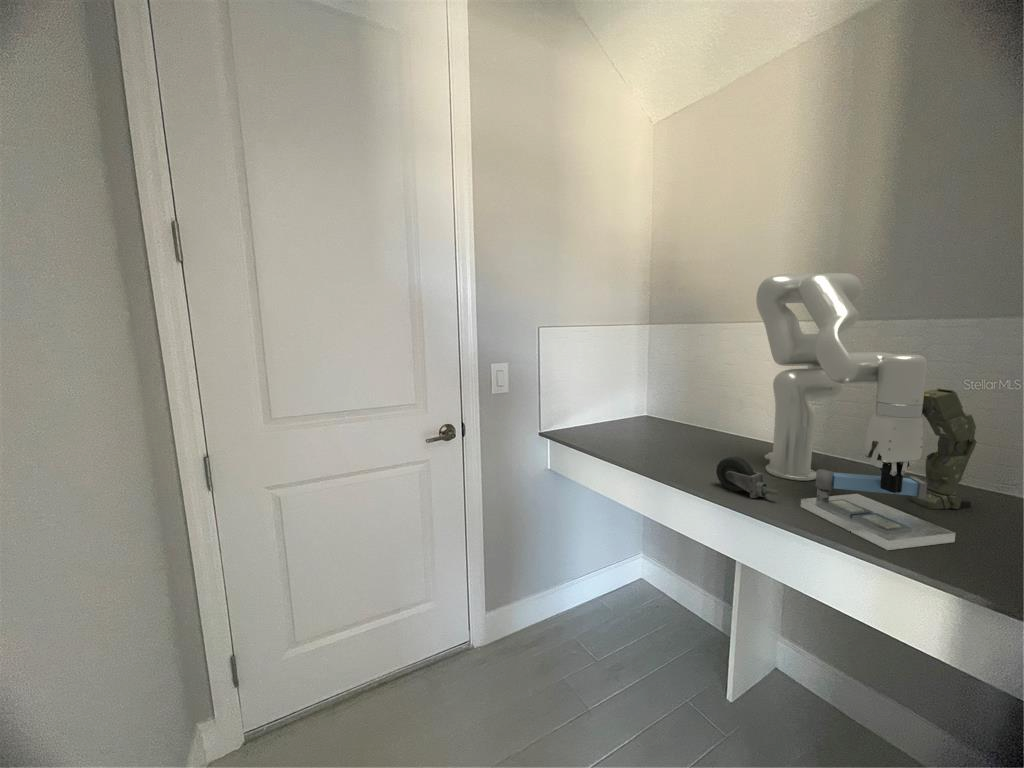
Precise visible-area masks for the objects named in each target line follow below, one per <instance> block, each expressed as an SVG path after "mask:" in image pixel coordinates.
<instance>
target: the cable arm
mask: <svg viewBox="0 0 1024 768" xmlns="http://www.w3.org/2000/svg"><path fill="white" fill-rule="evenodd" d="M880 485H881V475H869V474H860V473H859V474H857V473H855V474H854V473H849V472H848V473H845V472H834V471H831V470H828V469H821V468H819V469H816V478H815V486H814V487H816V488H820V489H824V490H830V491H832V490H833V489H834V490H835V489H836V490H838V489H839V490H847V491H848V490H849V491H859V492H867V493H868V492H869V493H881V494H891V495H901V496H909V495H911V496H916V497H917V498H919V499H926V491H927V483H925V482H924V481H923V480H921V479H920V478H918V477H917V476H908V477H903V481H902V491H901V492H899V493H898V492H897V493H892V492H890V491H887V490H884V489H881V487H880Z"/></svg>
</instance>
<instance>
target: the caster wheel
mask: <svg viewBox="0 0 1024 768" xmlns="http://www.w3.org/2000/svg"><path fill="white" fill-rule="evenodd" d="M715 471H716V476H717V479H718V481H719V483H720V484H721V485H722V486H723V487H724V488H725V489H726V490H727V489H728V490H730V491H733V492H742V491H746V492H747V493H749V497H750V498H751V499H753V498H756V499H758V498H759V496H760V497H763V498H765V497H766V495H767V494H769V495H770V494H771V495H776V496H777V495H778V494H779V491H778V490H777V489H776V490H775V489H772V488H768V485H767V483H765V482H764V473H763V472H758V471H754V469H753V467H752V465H751V464H750V463H749V462H748V461H747V460H745V459H744V458H741V457H739V456H728V457H725V458H723V459H722V460H720V461H719V463H718V464H717V465H716V470H715ZM757 497H758V498H757Z"/></svg>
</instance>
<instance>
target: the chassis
mask: <svg viewBox="0 0 1024 768" xmlns="http://www.w3.org/2000/svg"><path fill="white" fill-rule="evenodd" d="M816 488H817V487H816ZM830 493H831V490H824V489H820V488H817V489H816V497H810V498H809V497H807V498H801V499H800V508H802V509H804V510H806V511H808V512H810V513H813V514H814V515H816V516H818V517H820V518H821V519H822V518H823V519H824V520H826V521H827V522H830V523H832V524H834V525H837V526H838V527H841V529H842V528H843V529H844V530H846V531H848V532H850V531H851V532H850V533H852V534H853V535H856V536H858V537H860V538H862V539H864V540H865V541H869V543H872V544H874V545H875V546H878V547H880V548H881V549H884V550H886V551H892V550H893V551H894V550H900V549H901V550H902V549H909V548H910V549H911V548H918V547H924V546H925V547H926V546H933V545H935V546H936V545H941V544H949V543H950V544H951V543H955V541H956V534H957V533H956V532H954V531H952V530H949V529H948V528H947V529H946V528H944V527H942V526H939V525H938V524H937V525H936V524H935V523H931V522H929V521H927V520H924V519H921V518H919V517H918V516H914V515H912V514H909V513H907V512H904V511H902V510H899V509H897V508H894V507H892V506H890V505H887V504H884V503H881V502H879V501H876V500H874V499H872V498H869V497H866V496H865V495H864V496H863V495H861V494H859V493H851V494H840V495H831V496H830Z"/></svg>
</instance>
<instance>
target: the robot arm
mask: <svg viewBox="0 0 1024 768" xmlns="http://www.w3.org/2000/svg"><path fill="white" fill-rule="evenodd" d="M862 284H863V283H862V282H861V280H860V278H859V277H857V276H856V275H854V274H853V273H852V274H851V273H846V272H839V273H835V272H832V273H831V272H830V273H795V274H794V273H788V274H785V273H783V274H782V273H781V274H777V275H771V276H769V277H767V278H765V279H764V280H763V281H762V282H761V283H760V285H759V286H758V288H757V292H756V297H755V299H756V300H755V301H756V307H757V310H758V313H759V315H760V318H761V319H762V321H763V325H764V327H765V331H766V337H767V340H768V341H767V342H768V345H769V348H770V352H771V356H772V360H773V361H774V363H775V364H777V365H778V366H782V367H783V366H784V367H799V366H801V367H802V366H805V367H807V368H789V369H785V370H782V371H780V372H779V373H778V374H776V375H775V377H774V379H773V381H772V387H773V394H774V402H775V403H774V404H775V406H774V407H775V408H774V409H775V414H774V428H773V429H774V430H773V431H774V432H773V443H772V445H773V447H772V451H770V452H768V453H767V454H765V455H764V458H765V459H767V460H768V461H769V463H768V464H766V465H765V471H766V472H767V473H768V474H770V475H772V476H775V477H778V478H782V479H785V480H792V481H800V482H802V481H803V482H804V481H806V482H807V481H808V482H809V481H812V480H816V473H817V471H815V470H813V469H811V466H812V453H813V441H814V433H815V432H814V431H815V430H814V429H815V427H814V426H815V415H814V412H813V409H812V408H811V406H810V404H809V402H816V401H817V402H821V401H823V402H824V401H832V400H835V399H837V398H838V397H840V396H841V394H842V393H843V391H844V386H846V385H876V395H875V405H874V415H872V416H871V418H870V421H869V423H868V427H867V431H866V436H865V440H864V441H865V442H864V447H863V448H864V449H863V455H864V457H866V458H869V459H870V461H869V465H870V466H872V467H876V468H878V470H879V472H881V474H880V476H881V485H880V487H881V489H884V490H887V491H890V492H892V493H897V492H898V493H899V492H901V491H902V481H903V478H904V475H905V474H906V473H907V469H908V468H909V467H910V466H913V465H915V464H916V463H917V461H918V460H919V459H921V457H922V454H923V447H924V426H923V424H924V423H923V418H922V417H923V414H922V410H923V399H924V391H926V390H925V387H926V379H927V366H928V361H927V358H926V357H924V356H923V355H920V354H904V353H903V354H899V353H896V354H894V353H890V352H885V351H883V352H882V351H877V352H875V351H874V352H873V351H871V352H869V351H868V352H867V351H865V352H864V351H863V352H860V351H859V352H848V350H847V349H846V347H845V346H844V344H843V343H842V342H841V341H842V340H841V339H840V336H839V334H841V333H843V332H845V331H847V330H848V329H850V328H851V327H853V326H854V325H855V324H856V323H857V322H858V320H859V317H860V314H859V311H858V310H857V309H856V307H855V306H854V305H853V303H855V302H856V301H857V300H858V299H859V298H861V295H862V292H863V285H862ZM787 304H803V305H804V307H805V308H806V310H807V312H808V313H809V315H810V317H811V318H812V320H813V321H814V323H815V324H816V327H817V328H818V333H805V332H804V333H803V331H802V329H801V327H800V326H801V325H800V321H799V320H798V317H797V316H796V314H795V313H794V312H793V311H792V310H791V309H790V308H789V307H788V306H787Z"/></svg>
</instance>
